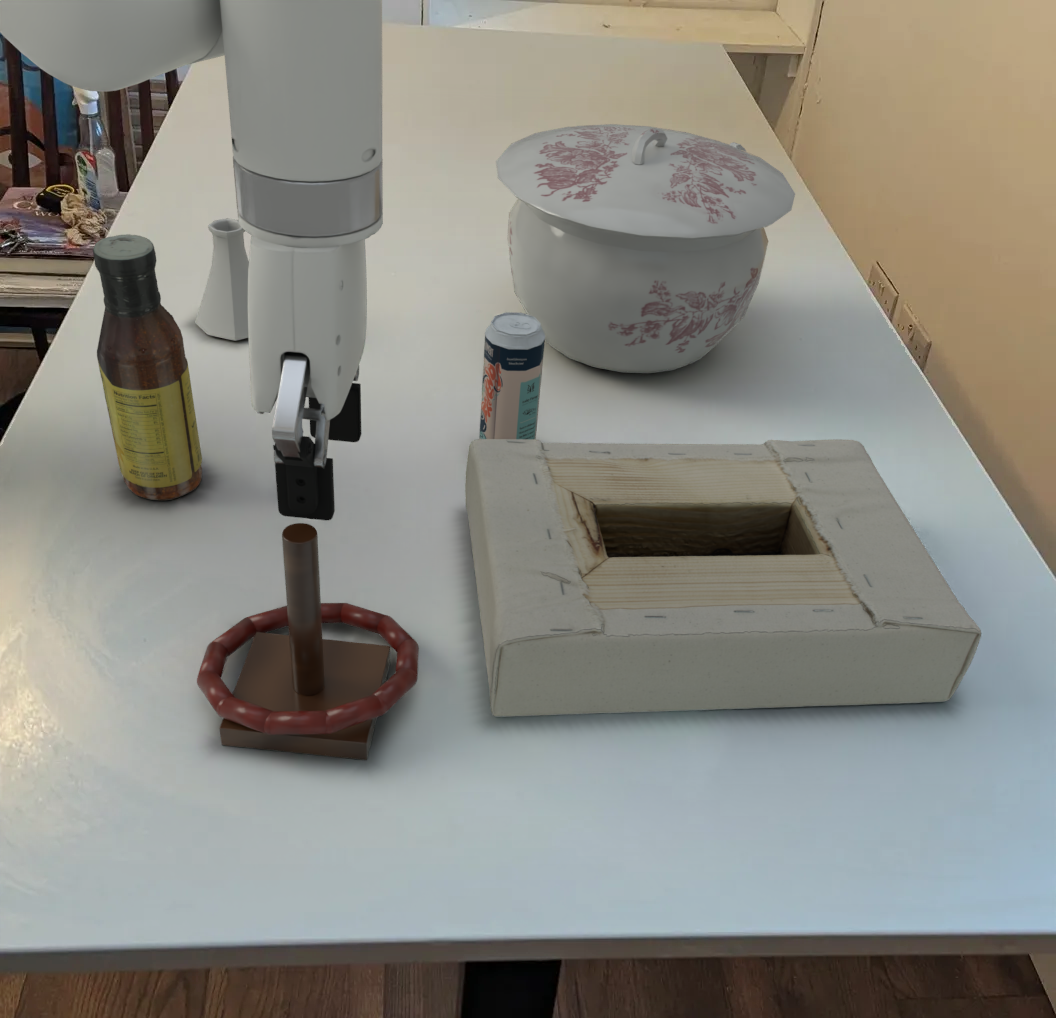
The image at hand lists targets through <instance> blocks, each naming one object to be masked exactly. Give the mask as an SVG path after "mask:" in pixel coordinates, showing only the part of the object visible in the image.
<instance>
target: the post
mask: <svg viewBox="0 0 1056 1018" xmlns="http://www.w3.org/2000/svg"><path fill="white" fill-rule="evenodd" d="M318 535H319V534H318V530H317V528H316V527H315V526H313V525H311V524H309V523H306V522H305V523H304V522H296V523H291V524H289V525H287V526H286V527H284V528H283V530H282V532H281V541H282V542H281V543H282V555H283V556H282V557H283V569H284V583H285V584H284V585H285V599H286V606H287V613H288V634H278V633H271V632H268V633H261V632H256V634H255V637H253V638H252V639H253V640H252V642H251V645H250V648H249V650H248V653H247V655H246V657H245V660H244V662H243V665H242V668H241V671H240V672H239V673H240V674H239V675H238V678H237V680H236V683H235V687H234V689H233V692H232V694H233V695H234V697H235V698H237V699H240V700H243V701H246V702H249V703H252V704H254V705H257V706H260V707H263V708H266V709H268V710H271V711H326V710H329V709H332V708H335V707H338V706H341V705H344V704H347V703H350V702H352V701H355V700H358V699H361V698H364V697H367V696H370V695H372V694H373V693H374V692H375V691H376V690H377V689H378V688H380V687H381V686H382V685H383V684H384V683H385V682H386V681H387V678H388V674H389V670H390V666H391V646H390V645H388V644H387V645H384V644H378V643H377V644H375V643H365V642H359V641H357V642H356V641H347V640H337V639H327V638H323V623H322V617H321V603H322V601H321V599H322V598H321V580H320V579H321V577H320V559H319V558H320V557H319V536H318ZM377 719H378V717H377V718H374V719H371V720H368V721H365V722H362V723H359V724H357V725H354V726H351V727H348V728H345V729H342V730H339V731H337V732H334V733H331V734H299V735H268V734H265V733H262V732H260V731H257V730H254V729H252V728H249V727H246V726H243V725H241V724H238V723H235V722H232V721H230V720H227V719H224V718H222V720H221V723H220V725H219V728H218V729H219V736H220V737H219V738H220V743H221V746H228V747H237V748H239V747H240V748H246V749H254V750H255V749H257V750H267V751H275V752H285V753H295V754H304V755H315V756H322V757H323V756H324V757H333V758H334V757H335V758H343V759H353V760H362V761H367V760H368V758H369V753H370V749H371V745H372V740H373V735H374V731H375V727H376V723H377Z"/></svg>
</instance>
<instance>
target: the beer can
mask: <svg viewBox="0 0 1056 1018" xmlns="http://www.w3.org/2000/svg"><path fill="white" fill-rule="evenodd" d="M545 342H546V341H545V333H544V331H543V329H542V327H541V323H540V322H539V321H538V320H537V319H536V318H535V317H533V316H530V315H527V314H526V313H523V312H512V311H511V312H510V311H509V312H507V311H505V312H503V313H500V314H497V315H494V316H493V318H492V320H491V322H490V324H489V325H488V326H486V329H485V332H484V345H483V347H484V349H483V365H482V366H483V367H482V380H481V381H482V382H481V383H482V384H481V400H480V401H481V402H480V416H479V417H480V418H479V419H480V420H479V436H478V437H479V438H478V439H535V440H537V439H536V438H537V430H538V429H537V427H538V418H539V406H540V395H541V386H542V385H541V384H542V373H543V362H544V352H545Z"/></svg>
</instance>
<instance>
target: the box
mask: <svg viewBox="0 0 1056 1018" xmlns="http://www.w3.org/2000/svg"><path fill="white" fill-rule="evenodd" d="M466 459H467V460H466V465H465V467H466V468H465V479H464V480H465V483H464V488H465V489H464V497H465V498H464V502H465V509H466V513H467V519H468V525H469V526H468V527H469V536H470V545H471V553H472V559H473V569H474V576H475V584H476V592H477V602H478V609H479V617H480V618H479V619H480V625H481V633H482V641H483V648H484V649H483V650H484V657H485V665H486V666H485V667H486V673H487V682H488V691H489V707H490V712H491V715H492V716H493V717H495V718H497V717H502V718H503V717H504V718H505V717H530V716H531V717H533V716H558V715H584V714H585V715H586V714H588V715H589V714H620V713H621V714H622V713H648V712H649V713H650V712H674V711H676V712H677V711H679V712H682V711H683V712H685V711H710V710H713V711H714V710H738V709H739V710H747V709H765V708H766V709H768V708H769V709H770V708H771V709H775V708H799V707H801V708H802V707H821V706H822V707H824V706H825V707H833V706H860V705H861V706H862V705H863V706H864V705H886V704H891V705H892V704H921V703H943V702H948V701H949V700H950V699H952V697H953V696H954V694H955V692H956V691H957V689H958V688H959V686H960V685H961V682H962V680H963V679H964V677H965V675H966V673H967V671H968V670H969V668H970V666H971V664H972V662H973V659H974V657H975V655H976V652H977V650H978V646H979V644H980V641H981V638H982V630H981V628H980V627H979V625H978V624H977V622H976V621H974V619H973V618H972V617H971V616H970V615H969V613H968V612H967V610H966V609H965V608H964V606H963V605H962V604H961V603H960V601H959V600H958V597H956V595H955V593H954V592H953V591H952V589H951V587H950V585H949V583H948V582H947V581H946V579H945V578H944V576H943V574H942V573H941V571H940V570H939V568H938V566H937V565H936V563H935V562H934V560H933V558H932V556H931V555H930V553H929V552H928V550H927V548H926V547H925V545H924V544H923V542H922V540H921V538H920V537H919V536H918V534H917V532H916V531H915V529H914V528H913V526H912V525H911V523H910V521H909V520H908V518H907V516H906V514H905V513H904V512H903V509H902V508H901V507H900V505H899V503H898V502H897V500H896V498H895V497H894V495H893V494H892V492H891V490H890V488H889V487H888V485H887V483H886V482H885V480H884V479H883V478H882V476H881V474H880V473H879V471H878V469H877V467H876V465H875V464H874V461H873V460H872V458H871V456H870V455H869V453H868V452H867V449H866V448H865V446H864V444H862V442H860V441H858V440H854V439H841V438H837V439H835V438H833V439H814V440H813V439H812V440H811V439H810V440H795V441H794V440H793V441H791V440H781V439H768V440H765V442H763V443H760V444H759V443H758V444H756V443H751V444H750V443H749V444H747V443H742V444H741V443H622V442H621V443H619V442H618V443H615V442H614V443H612V442H611V443H609V442H607V443H603V442H602V443H600V442H599V443H598V442H595V443H594V442H592V443H591V442H586V443H585V442H584V443H583V442H542V441H541V440H539V439H536V440H535V439H479V438H477V439H473V440H472V441H471V442H470V444H469V446H468V450H467V457H466Z"/></svg>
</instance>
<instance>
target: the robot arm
mask: <svg viewBox="0 0 1056 1018" xmlns="http://www.w3.org/2000/svg"><path fill="white" fill-rule="evenodd" d="M0 34H1V35H2V36H3V37H4V38H5V39H6V40H7V42H9V43H10V44H12V46H13V47H14V48H15V49H16V50H17V51H19V52H20V53H21V54H22V55H23V56H25V58H27V59H29V61H30V62H32V63H33V64H34V65H36V67H38V68H39V69H41V70H42V71H43V72H45V73H47V74H48V75H50V76H52V77H53V78H55V79H57V80H58V81H60V82H62V83H63V84H66V85H68V86H71V87H74V88H77V89H79V90H84V91H89V92H113V91H114V92H116V91H120V90H123V89H127V88H128V87H132V86H136V85H139V84H142V83H144V82H146V81H149V80H151V79H154V78H156V77H158V76H161V75H164V74H166V73H168V72H172V71H174V70H176V69H179V68H181V67H184V66H188V65H192V64H197V63H200V62H204V61H209V60H213V59H217V58H220V57H224V64H225V77H226V88H227V99H228V112H229V113H228V114H229V125H230V137H231V147H232V148H231V149H232V164H233V177H234V191H235V200H236V202H235V203H236V211H237V212H236V213H237V220H238V222H239V224H240V226H241V227H242V228H243V229H244V230H245V232H246V233H247V234H249V235H250V242H249V250H248V251H249V252H248V253H249V254H248V261H249V266H248V338H247V339H248V363H249V388H250V389H249V390H250V404H251V407H252V409H253V410H254V412H255V413H257V414H260V415H263V414H265V413H267V414H271V412H272V410H273V408H274V406H275V410H274V416H273V422H272V427H271V437H272V440H273V445H272V448H273V461H274V471H275V484H276V496H277V497H276V498H277V499H276V500H277V510H278V514H280V515H281V516H283V517H290V518H296V519H297V518H298V519H309V520H318V521H331V520H332V519H333V518H334V515H335V511H336V509H335V482H334V458H332V457H328V450H329V449H328V448H329V441H335V442H336V441H337V442H346V443H358V442H359V441H360V440H361V437H362V387H361V385H362V384H361V383H359V382H358V381H359V377H360V363H361V360H362V358H363V354H364V350H365V345H366V338H367V326H368V325H367V323H368V322H367V320H368V287H367V286H368V285H367V284H368V282H367V281H368V279H367V278H368V277H367V258H366V257H367V255H366V254H367V253H366V252H367V251H366V240H367V239H369V238H370V237H371V236H372V235H376V234H377V233H378V232H379V231H380V230H381V228H382V226H383V224H384V212H383V211H384V195H383V194H384V192H383V191H384V189H383V188H384V187H383V185H384V184H383V183H384V182H383V181H384V178H383V177H384V175H383V174H384V173H383V171H384V170H383V169H384V167H383V163H384V162H383V161H384V159H383V0H0ZM356 382H358V383H356ZM307 399H308V407H305V406H306V400H307ZM275 403H276V404H275ZM303 420H308V421H309V433H310V436H305V435H304V429H303V428H304V427H303ZM311 437H312V438H314V440H312V438H311Z"/></svg>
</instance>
